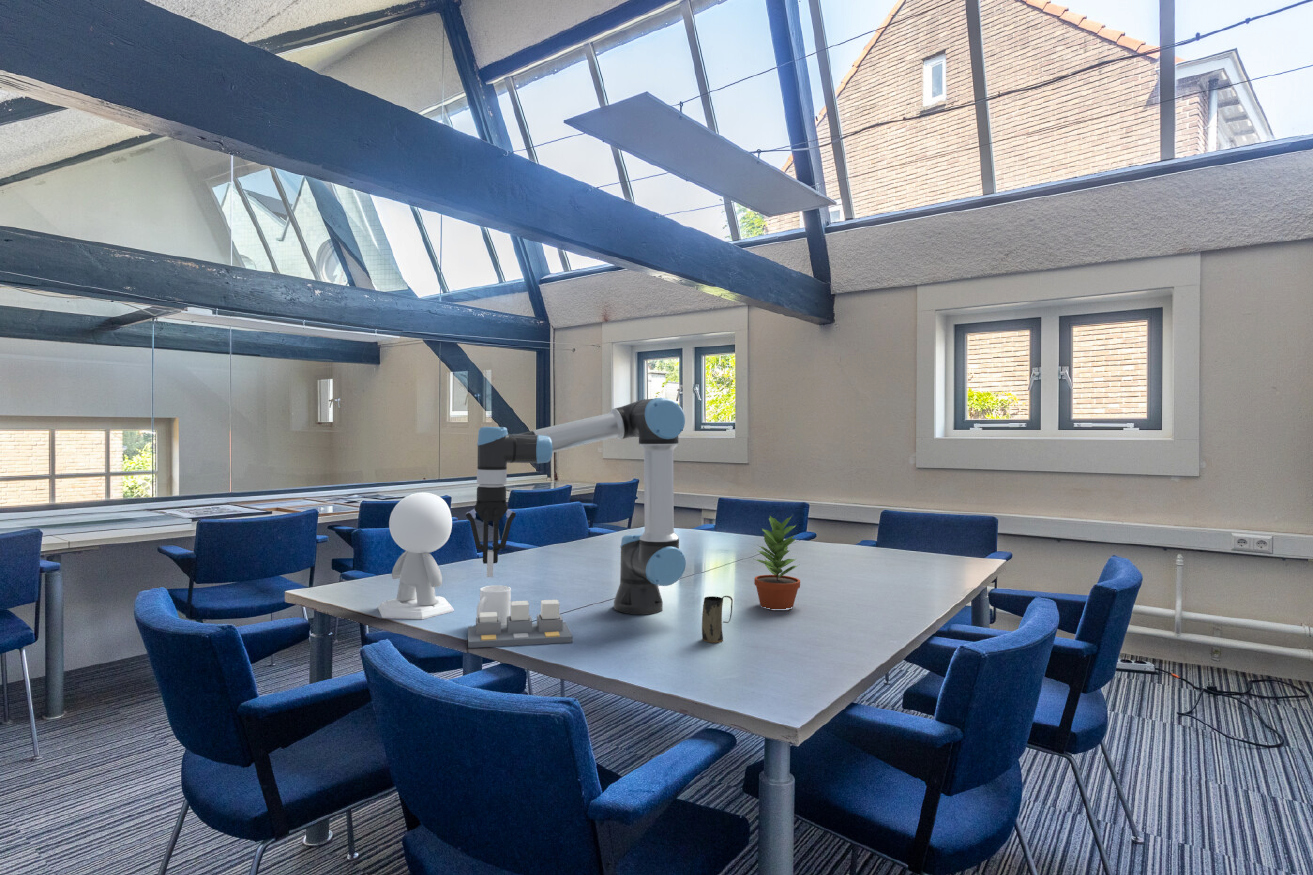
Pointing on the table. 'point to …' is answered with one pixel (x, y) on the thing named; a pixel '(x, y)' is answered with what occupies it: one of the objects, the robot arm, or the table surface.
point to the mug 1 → (495, 601)
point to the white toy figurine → (418, 556)
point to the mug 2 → (713, 619)
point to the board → (518, 632)
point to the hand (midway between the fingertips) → (489, 575)
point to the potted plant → (777, 569)
